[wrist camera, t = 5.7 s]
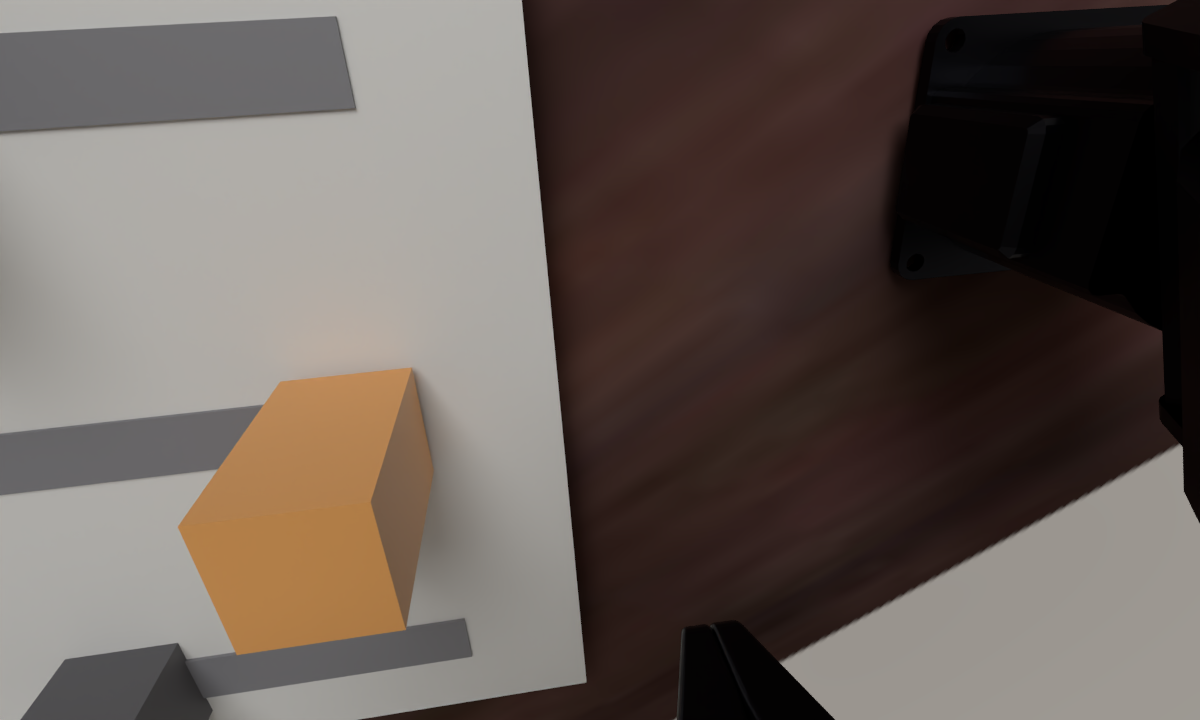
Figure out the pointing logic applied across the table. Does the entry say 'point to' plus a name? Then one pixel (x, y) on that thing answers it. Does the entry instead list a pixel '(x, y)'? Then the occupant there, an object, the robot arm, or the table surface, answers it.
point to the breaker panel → (269, 339)
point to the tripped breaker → (317, 514)
